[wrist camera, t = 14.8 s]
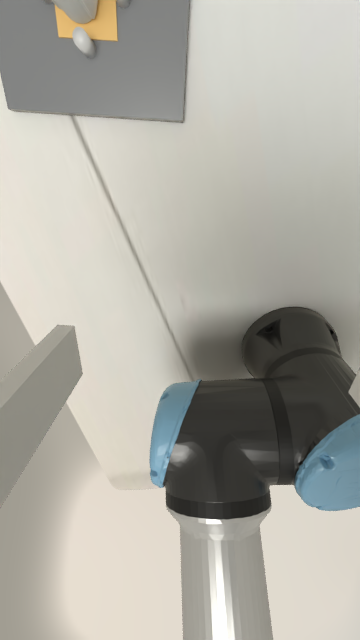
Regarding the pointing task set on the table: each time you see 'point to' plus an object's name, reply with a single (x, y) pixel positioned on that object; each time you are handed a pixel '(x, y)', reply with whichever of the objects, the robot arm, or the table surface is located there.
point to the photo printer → (78, 9)
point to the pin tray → (96, 59)
